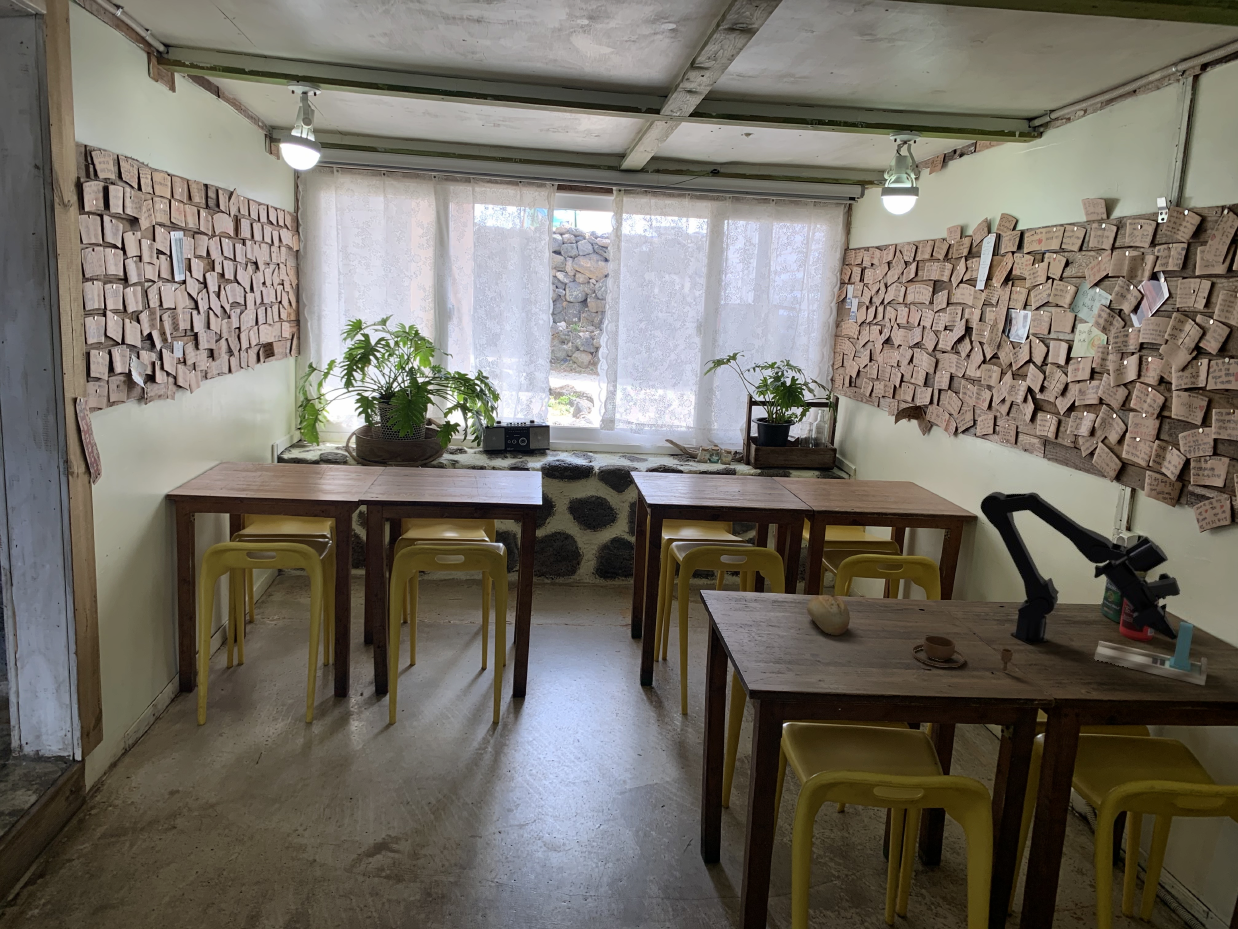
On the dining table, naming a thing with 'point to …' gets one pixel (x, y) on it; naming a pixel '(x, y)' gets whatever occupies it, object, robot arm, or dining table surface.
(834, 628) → the bread roll
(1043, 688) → the dining table surface
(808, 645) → the dining table surface
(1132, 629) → the canned food
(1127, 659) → the box
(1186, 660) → the slider
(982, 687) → the dining table surface
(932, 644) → the place setting
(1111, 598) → the coffee jar
